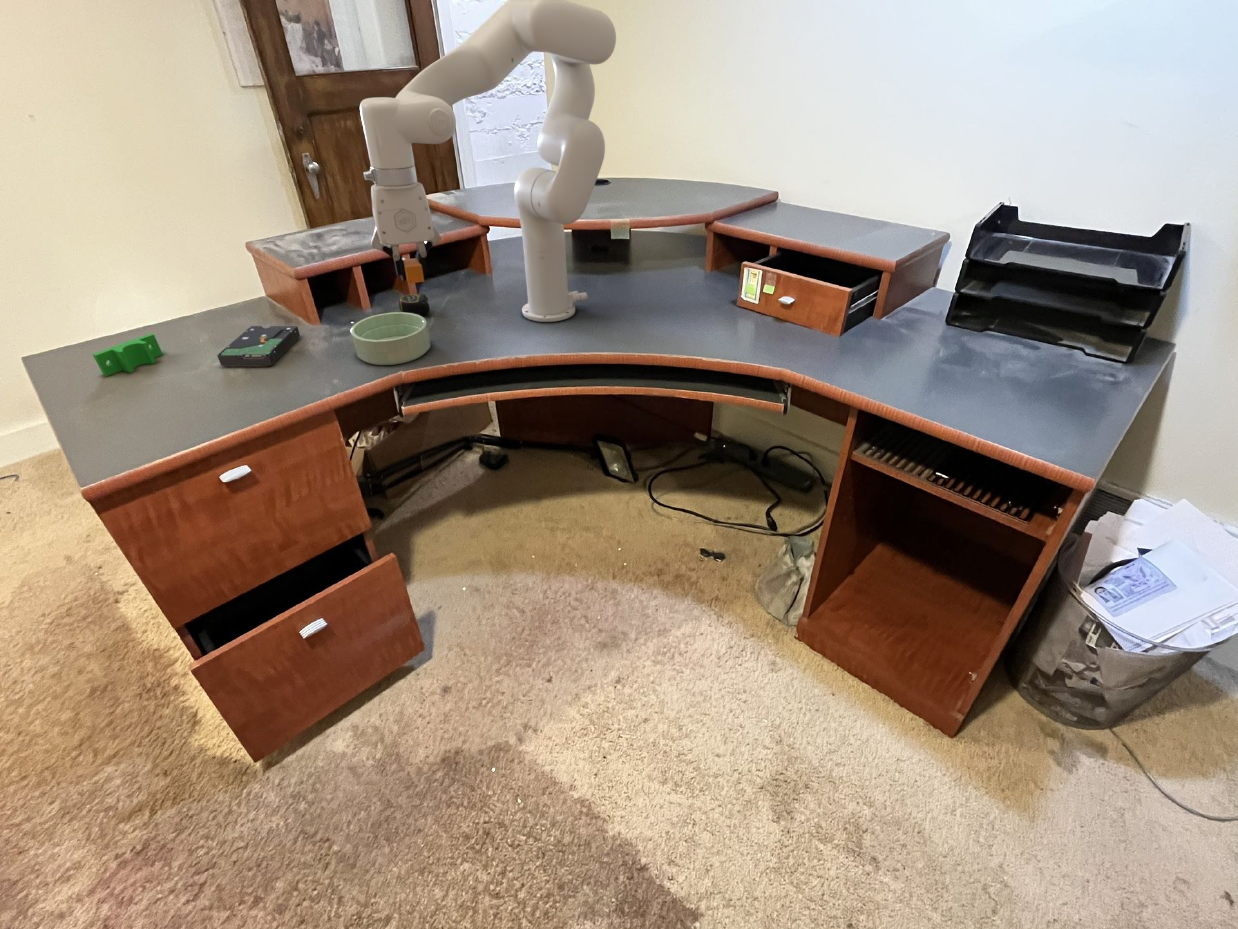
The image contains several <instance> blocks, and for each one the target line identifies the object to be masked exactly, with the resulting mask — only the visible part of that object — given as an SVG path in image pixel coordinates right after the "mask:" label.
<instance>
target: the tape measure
mask: <svg viewBox="0 0 1238 929" xmlns="http://www.w3.org/2000/svg"><path fill="white" fill-rule="evenodd" d="M398 309H399V312H405V313H413V314H417V315H420V316H422V315H425V314H428V313H429V312H430V305H429V297H427V296H426V294H425V293H420V294H406V295H403V296H402V297H400V298H399V299H398Z"/></svg>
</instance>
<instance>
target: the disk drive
mask: <svg viewBox="0 0 1238 929" xmlns="http://www.w3.org/2000/svg"><path fill="white" fill-rule="evenodd" d="M300 337H301V334H300V331H299V327H298V326H297V325H271V326H269V327H263V326H262V325H250V327H248V328H247V329H246V330H245V331H244V332H242V333H241V334H240V335H239V336H237V338H235V339H234V340H233V341H231V343H230V344H228V345H227V346H226V347H225V348H224V349H222V350H221V351H220V352H219V353H218V354H217V358H218V362H219V363H220V367H221V366H223V367H224V366H226V367H268V366H272V365H274V364H275V363H276V362H277V361H278V360H279V359H280V358H281V357H282V356H283V355H284V353H285V352H287V351H288V350H289V348H290V347H291V346H292V345H293V344H295V343H296V341H297V340H298V339H299V338H300Z"/></svg>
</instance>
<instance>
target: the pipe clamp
mask: <svg viewBox="0 0 1238 929" xmlns="http://www.w3.org/2000/svg"><path fill="white" fill-rule="evenodd" d="M163 353H164V352H163V351H162V349H161V347H160V345H159V342H158V341H157V339H156V336H155V334H153V333H147V334H145V335H142V336H139V337H137V338H134V339H131V340H129V341H125V342H123V343H119V344H118V345H114V346H112V347H109V348H107V349H103V350H101V351H98V352H96V353H93V354H92V356H93V358H94V361H95V362H96V364H97V365H98V368H99V369H100V371H101V373H102V375H103V376H105V377H109V376H111V375H115V374H117V373H119V372H122V371H124V372H125V373H126V372H127V373H130V374H131V373H134V372H135V370H134V369H135V368H137V367H138V366H143V365H146V364H150V365H154V364H156V363H157V361H156V359H155V358H158V357H160V356H164V354H163ZM107 362H108V364H107Z"/></svg>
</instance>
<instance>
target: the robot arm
mask: <svg viewBox="0 0 1238 929" xmlns="http://www.w3.org/2000/svg"><path fill="white" fill-rule="evenodd" d="M616 43H617V32H616V29H615V25H614V23H613V21H612V20H611V18H610V17H609V15H607V14H606V13H605V12H603V11H602V10H599V9H598V8H597V9H596V8H593V7H589V6H587V5H583V4H579V3H576V2H572V1H569V0H506V1H505V2H504V3H503V4H501V6H499V7H498V8H497V9H496V11H494V12H493V13H492V14H491V15H490V16H489V17H488V18H487V20H485V21H484V22H483V23H482V24H481V25H480V26H479V27H478V28H477V29H476V30H475V31H474V32H473V33H472V34H471V35H470V36H469V37H468V38H467V39H466V40H465V41H463V43H461V44H460V45H459V46H456V47H455V48H454V49H452V50H450V51H449V52H447V53H445V54H444V55H443V56H442V57H440V58H439V59H438V60H435V61H434V62H432V63H431V64H429V65H428V66H426V67H425V68H424V69H423V70H421V71H419V73H418V74H417V75H415V77H413V78H412V79H411V80H410V81H409V82H408V83H407V84H406V85H405V86H404V87H403V88H402V89H401V90H400V91H399V92H398V93H397V94H396V96H395V97H388V96H382V97H379V96H378V97H377V96H376V97H367V98H364V99H362V101H360V104H359V111H360V112H359V113H360V118H361V123H362V127H363V133H364V138H365V143H366V148H367V152H368V153H367V154H368V158H369V159H368V160H369V163H370V164H369V165H370V167H369V170H367V171H363V177H364V180H365V181H372V182H373V183H374V184H372V185H371V187H370V196H371V197H370V198H371V210H372V216H373V224H374V231H373V234H372V237H371V240H370V246H371V248H372V249H375V250H377V251H380V252H384V254H386V255H388V257H390V258H392V259H393V262H394V269H395V273H396V276H398V277H400V279H401V281H402V282H405V281H406V282H407V279H406V274H405V268H404V262H403V260H402V258H403V257H402V255H401V253H400V246H401V245H408V244H409V245H410V244H415V247H416V254H415V258H416V259H417V260H418V262H419V263H420V264H421V265H422V271H423V277H424V279H426V273H428V267H427V260H426V257H427V254H428V253H429V252H430V250H431V249H432V247H433V246H435V245H436V244H438V243H439V242H440V241H442V237H441V235H440V234H439V232H438V231H437V228H435V226H434V224H433V218H432V214H431V210H430V204H429V202H428V197H427V193H426V191H425V188H424V186H423V183H421V182H418V177H417V170H416V165H415V157H414V152H413V145H412V144H426V145H440V144H444V143H446V142H447V141H449V140H450V139H451V138H452V137H453V135H454V134H455V131H456V128H457V119H456V114H455V112H454V110H453V108H452V106H453V105H455V104H457V103H459V102H460V101H462V100H465V99H467V98H471V97H474V96H475V97H476V96H478V95H483V94H485V93H488V92H489V91H492V90H494V89H496V88H497V87H498V86H499V85H500V84H501V83H502V82H503V81H504V80H505V79H506V78H507V77H508V76H509V75H510V74H511V73H512V72H513V71H514V70H515V69H516V68H517V67H518V66H519V65H520V64H521V63H522V62H524V60H526V58H527V57H528V56H530V54H532V53H533V52H534V53H548V55H549V58H550V61H551V63H552V66H553V71H554V85H553V86H554V87H553V91H552V94H551V98H550V101H549V104H548V107H547V110H546V113H545V114H544V117H543V118H544V119H543V121H542V125H541V127H540V130H539V132H538V137H537V141H536V148H537V153H538V154H539V156H540V158H541V159H542V160H544V161H545V162H546V163H548V164H550V165H553V166H556V167H557V169H556V171H555V170H552V169H549V168H544V167H537V166H536V167H535V166H534V167H529V168H526V169H524V170H523V171H521V173H520V174H519V175H518V177H517V178H516V180H515V183H514V187H513V188H514V189H513V195H514V196H513V197H514V204H515V206H516V211H517V214H518V218H519V223H520V229H521V237H522V249H523V250H522V251H523V261H524V272H525V282H526V284H525V285H526V294H527V303H526V304H524V305H523V306H522V308H521V312H522V315H523V316H524V317H525V318H526V319H527V320H531V321H534V322H538V323H539V322H541V323H553V322H555V323H556V322H559V321H564V320H567V319H569V318H571V317H572V316H574V315H575V313H576V306H575V304H576V303H579V302H586V301H587V300H588V299H589V298H588V293H587V292H585V291H584V292H579V291H578V290H574V291H570V290H569V286H568V268H567V248H566V246H567V243H566V232H565V228H564V226H565V225H570V224H573V223H575V222H577V221H579V219H580V218H581V217H582V215H583V214H584V212H585V210H586V208H587V205H588V203H589V201H590V198H591V195H592V193H593V190H594V188H595V185H596V182H597V180H598V177H599V174H600V172H601V169H602V166H603V163H604V160H605V152H606V143H605V142H606V141H605V137H604V134H603V131H602V130H601V128H600V126H598V125H597V124H596V123H595V122H593V121H591V120H590V116H591V112H592V110H593V106H594V104H595V96H596V87H595V86H596V85H595V80H594V76H593V71H592V67H591V65H595V66H596V65H601V64H604V63H605V62H607V60H609V59H610V57H611V56H612V54H613V53H614V51H615V48H616Z"/></svg>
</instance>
